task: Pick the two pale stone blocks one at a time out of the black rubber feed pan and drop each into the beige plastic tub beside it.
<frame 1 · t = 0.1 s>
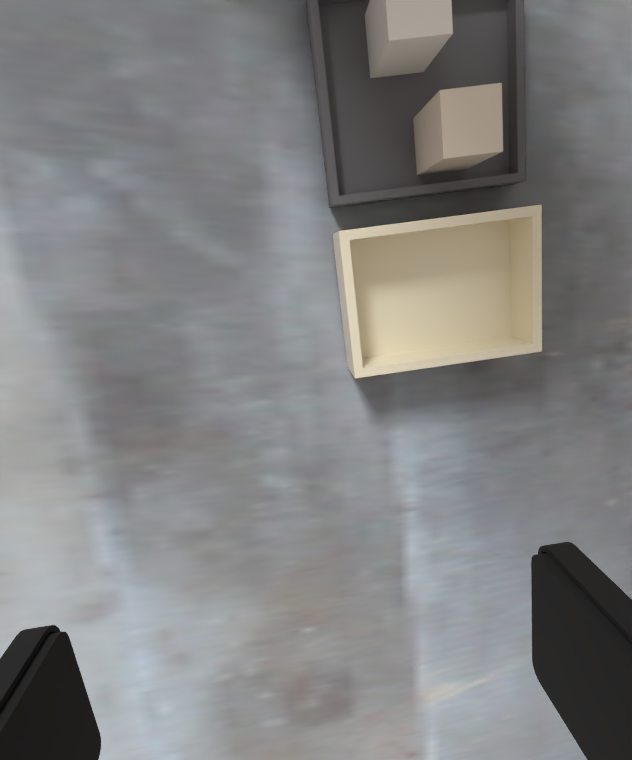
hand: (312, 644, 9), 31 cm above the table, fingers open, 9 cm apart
tub: (428, 290, 39), on the table
stone b: (440, 144, 36), resting on feed pan
feed pan: (416, 97, 35), on the table
stone a: (394, 44, 34), resting on feed pan
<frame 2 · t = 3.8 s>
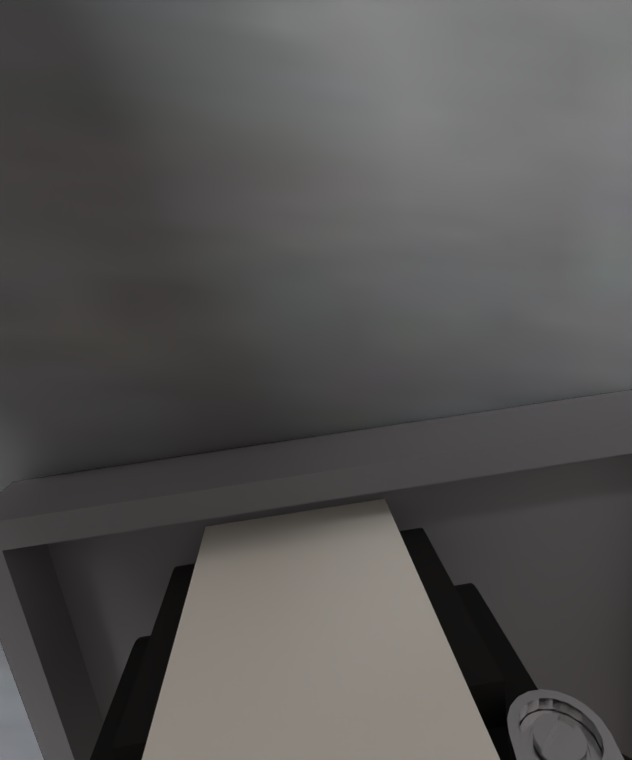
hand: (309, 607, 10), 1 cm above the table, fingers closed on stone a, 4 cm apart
feed pan: (380, 678, 12), on the table
stone a: (307, 588, 11), point 1 cm above the table, touching feed pan, gripper
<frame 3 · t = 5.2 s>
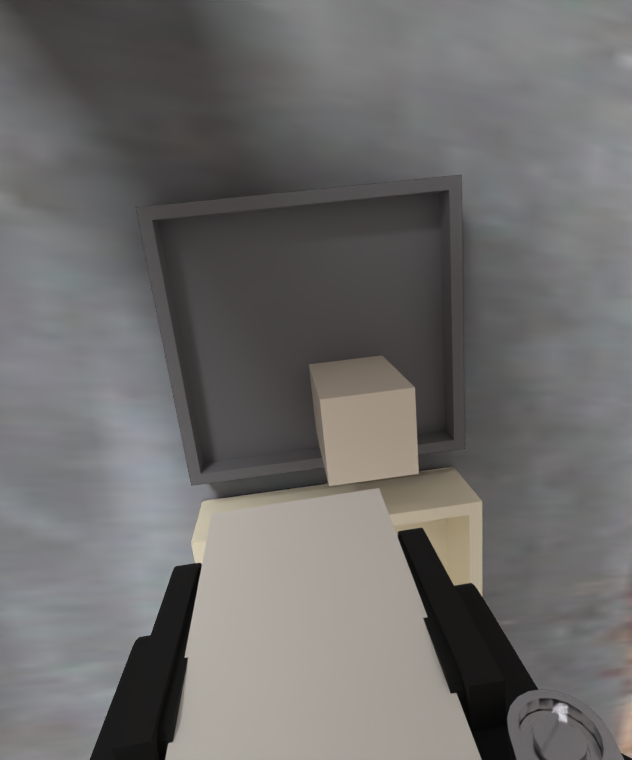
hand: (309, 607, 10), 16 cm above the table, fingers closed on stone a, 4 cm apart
tub: (338, 561, 29), on the table
stone b: (348, 395, 25), resting on feed pan
feed pan: (314, 334, 25), on the table
stone a: (306, 566, 12), point 15 cm above the table, tilted 5°, touching gripper
when the fingers open (6 cm above the table, at t = 7.1 s): stone a drops 4 cm, resting on tub.
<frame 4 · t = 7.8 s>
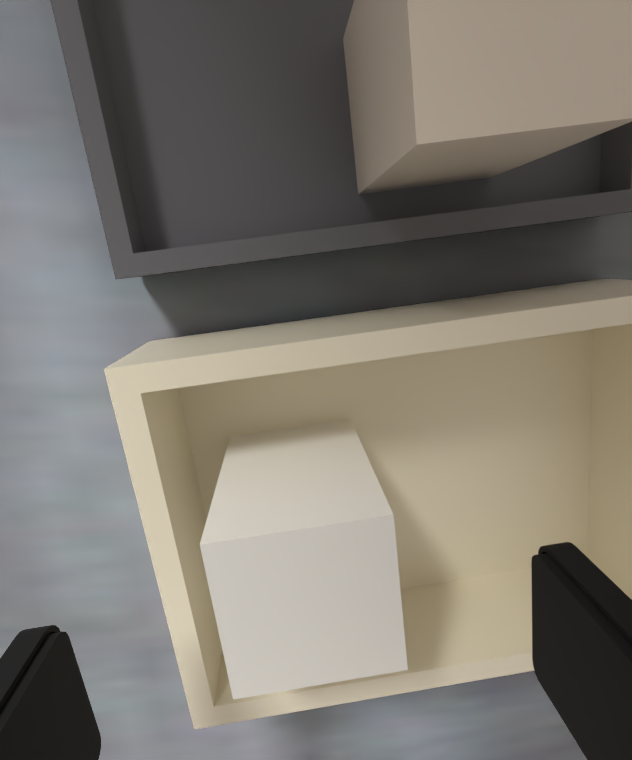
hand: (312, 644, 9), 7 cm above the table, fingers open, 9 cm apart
tub: (395, 463, 16), on the table
stone b: (420, 111, 13), resting on feed pan
stone a: (298, 482, 16), resting on tub
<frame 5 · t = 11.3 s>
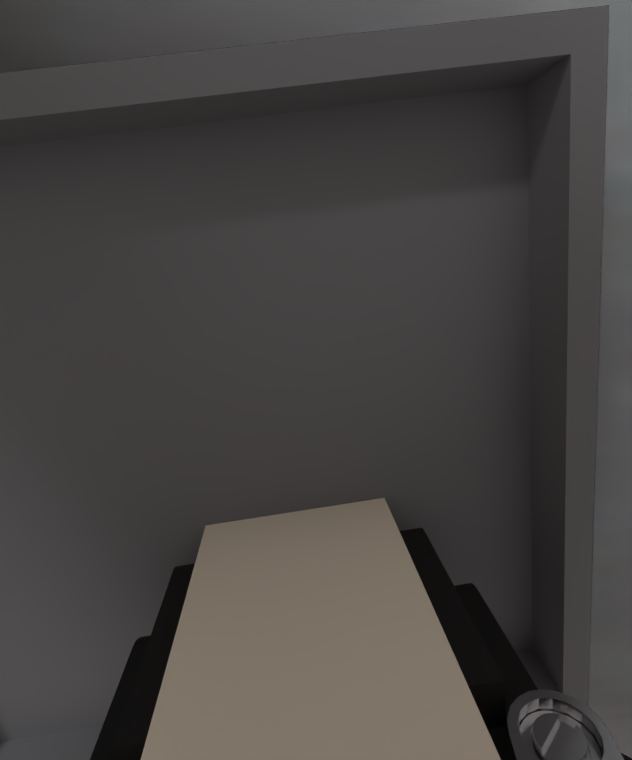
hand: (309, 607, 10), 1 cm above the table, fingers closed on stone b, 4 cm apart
stone b: (307, 587, 11), point 1 cm above the table, touching feed pan, gripper
feed pan: (218, 450, 10), on the table
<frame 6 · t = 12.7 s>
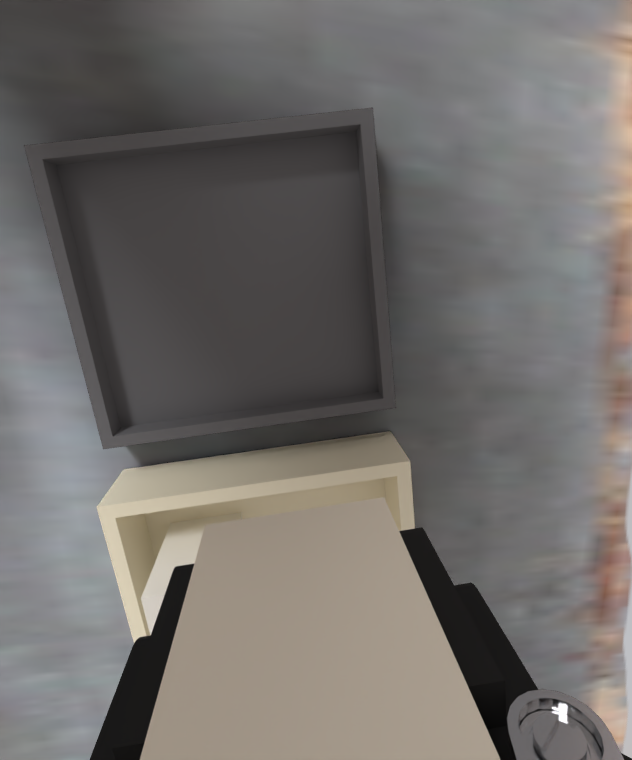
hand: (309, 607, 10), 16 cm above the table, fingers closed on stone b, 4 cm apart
tub: (273, 535, 27), on the table
stone b: (307, 587, 11), point 15 cm above the table, touching gripper
feed pan: (232, 287, 24), on the table
stone a: (212, 548, 27), resting on tub
when the fingers open (6 cm above the table, at t = 14.4 s): stone b drops 5 cm, resting on tub.
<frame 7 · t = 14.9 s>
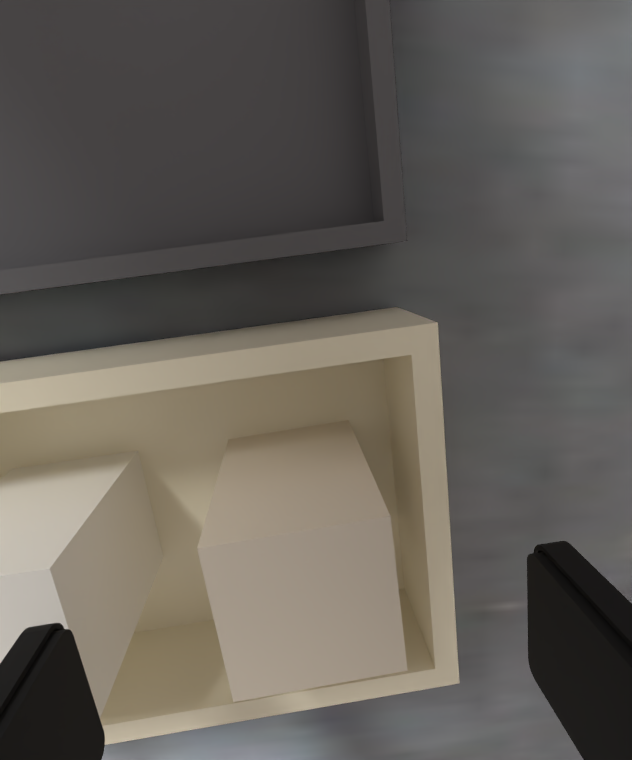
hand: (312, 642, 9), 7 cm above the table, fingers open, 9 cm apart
tub: (198, 493, 16), on the table
stone b: (297, 484, 16), resting on tub
feed pan: (95, 9, 12), on the table
stone a: (91, 514, 15), resting on tub
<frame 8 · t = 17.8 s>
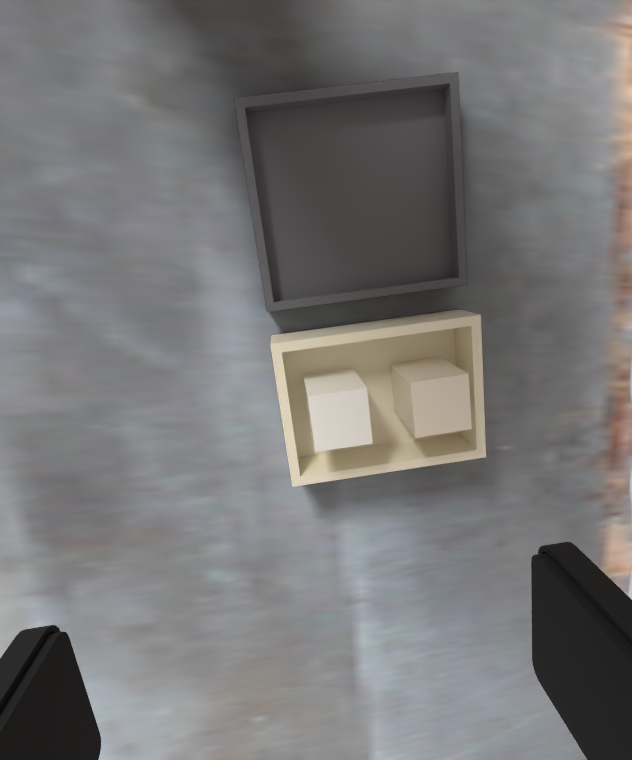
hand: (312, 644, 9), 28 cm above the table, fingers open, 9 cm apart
tub: (372, 389, 38), on the table
stone b: (416, 384, 37), resting on tub
feed pan: (354, 200, 34), on the table
stone a: (331, 395, 37), resting on tub
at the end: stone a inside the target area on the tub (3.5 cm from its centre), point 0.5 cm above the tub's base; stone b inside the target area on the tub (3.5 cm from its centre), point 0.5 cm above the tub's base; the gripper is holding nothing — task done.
